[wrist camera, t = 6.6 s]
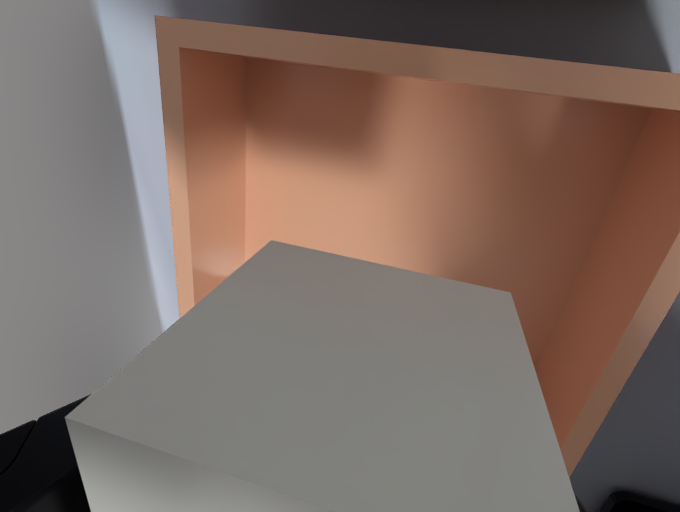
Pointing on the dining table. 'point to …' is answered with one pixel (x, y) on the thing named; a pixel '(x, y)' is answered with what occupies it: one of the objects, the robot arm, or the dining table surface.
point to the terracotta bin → (437, 183)
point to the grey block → (327, 400)
